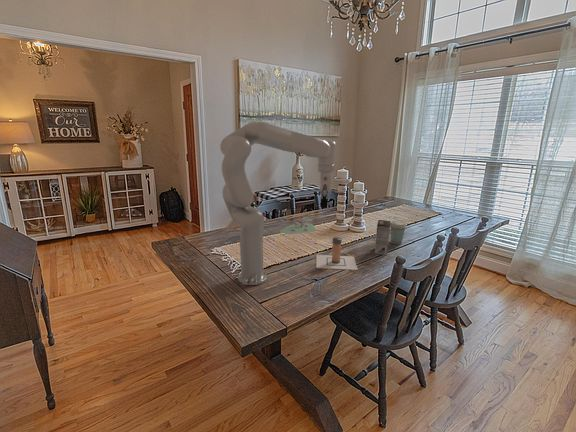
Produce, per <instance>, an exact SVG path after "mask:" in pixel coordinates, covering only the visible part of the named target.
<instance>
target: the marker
mask: <svg viewBox="0 0 576 432" xmlns="http://www.w3.org/2000/svg"><path fill="white" fill-rule="evenodd" d="M342 241H343V240H342V238H341V237H338V236H336V237H332V247H331V248H332V249H331V250H332V251H331V254H332V255H331V256H332V263H336V264H338V263H340V256H342V255H341V252H342Z"/></svg>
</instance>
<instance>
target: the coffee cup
mask: <svg viewBox="0 0 576 432" xmlns="http://www.w3.org/2000/svg"><path fill="white" fill-rule="evenodd" d="M405 230H406V223H405V222H404V221H399V220H393V221H391V224H390V243H391V244H392V245H397V246H398V245H402V242H403V239H404V234H405Z"/></svg>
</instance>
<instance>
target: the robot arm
mask: <svg viewBox="0 0 576 432" xmlns="http://www.w3.org/2000/svg"><path fill="white" fill-rule="evenodd" d="M255 144H257V145H262V146H265V147H268V148H273V149H276V150H280V151H283V152H288V153H297V154H302V155H304V156H305V157H308V158H316V159H318V161H317V172H319V174H320V176H319V192H320V208H326V209H327V208H328V204H329V202H328V201H329V199H328V198H329V195H331V194H332V179H333V177H332V176H333V173H334V172H335V166H336V165H335V164H336V147H337V143H336V141H334V140H324V139H322V138H318V137H315V136H312V135H308V134H304V133H300V132H297V131H294V130H289V129H287V128H283V127H280V126H277V125H273V124H272V123H268V122H264V121H252V122H249V123H247V124H245V125H243V126H241V127H240V128H238V129H236V130H235V131H233V132H231V133H229V134H228V135H226V136H225V137H224V138H223V139H222V140H221V142H220V145H219V146H220V147H219V148H220V151H221V153H222V154H223V155H224V156H223V160H222V163H221V173H222V177H223V179H224V183H225V184H224V186H223V188H222V191H221V192H222V193H221V194H222V198H223V201H224V203H225V206H226V208H227V211H228V213H229V215H230V217H231V220H232V221H233V222H234V223H235V224H236V225H237V226H239V227H241V228H240V229H241V231H240V235H239V249H240V273H239V274H238V275H237V281H238V282H239V283H240V284H242V285H245V286H257V285H261V284H263V283H264V282H266V281H267V280H268V275H267V273H266V272H265V271H264V243H263V241H264V239H263V238H264V237H263V236H264V228H265V217H264V214H263V213H262V211H260V210H259V209H257V208H255V207H253V206H251V205H252V203H253V202H254V194H253V191H252V189H251V188H252V187H251V185H250V182H249V179H248V177H247V174H246V170H245V167H246V166H245V165H246V163H247V162H246V161H247V160H248V158H249V156H250V155H251V152H252V146H254V145H255Z"/></svg>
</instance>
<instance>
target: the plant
mask: <svg viewBox="0 0 576 432" xmlns="http://www.w3.org/2000/svg"><path fill="white" fill-rule="evenodd" d="M302 217H303V216H302V215H301V216H300V219H297V220H296V221H297V222H296V223H293V224H289V225H287V226H285V227H284V228H282V229H281V230H280V231H279V233H281V234H288V235H296V234H308V233H313V232H315V231H316V230H317V229H316V226H315V225H314V224H312V223H310V222H305V221H304V219H303V218H302ZM299 220H300V221H299Z"/></svg>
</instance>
